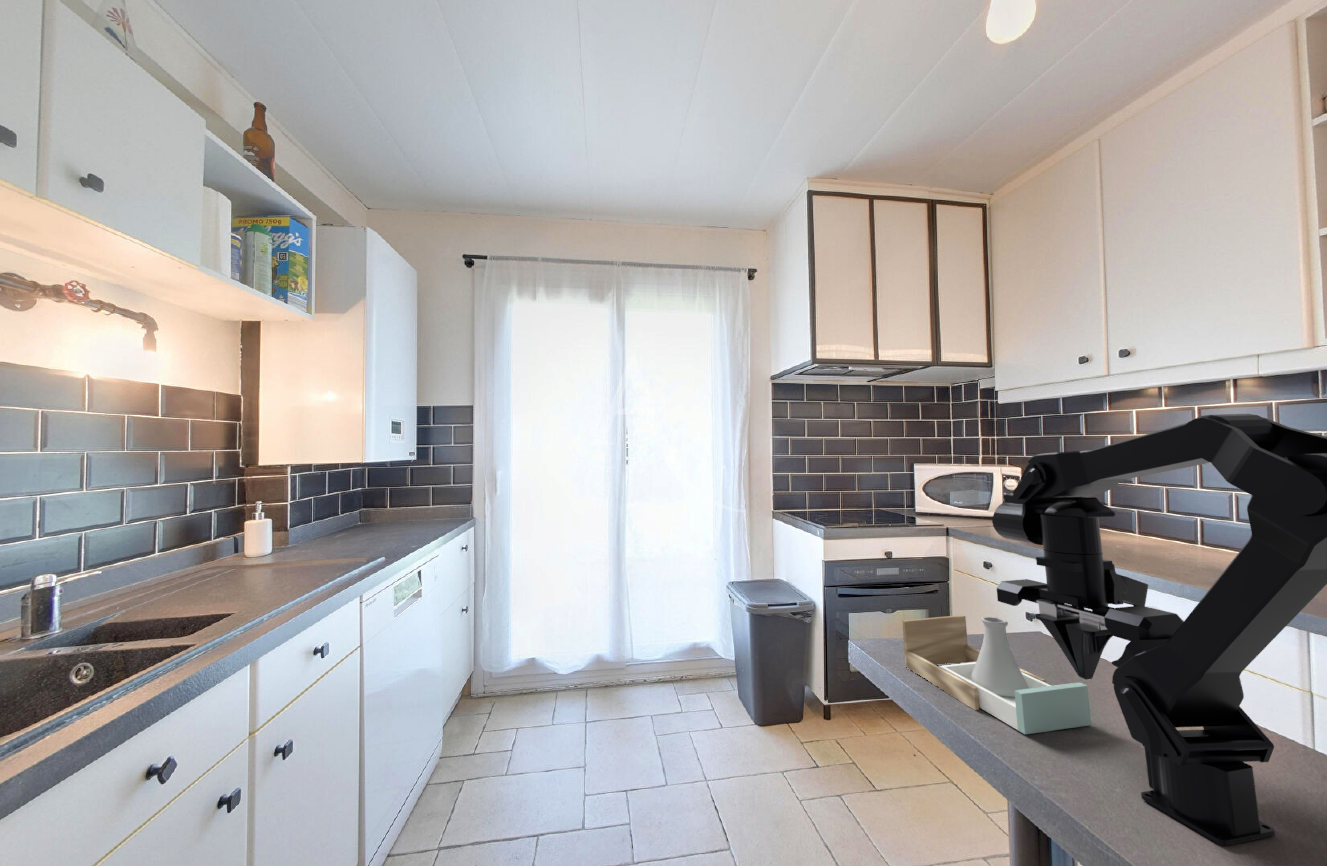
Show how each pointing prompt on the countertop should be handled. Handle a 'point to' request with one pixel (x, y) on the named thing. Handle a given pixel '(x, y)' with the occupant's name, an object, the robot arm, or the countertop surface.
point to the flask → (997, 661)
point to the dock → (942, 654)
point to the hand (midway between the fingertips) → (1085, 678)
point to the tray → (1032, 703)
